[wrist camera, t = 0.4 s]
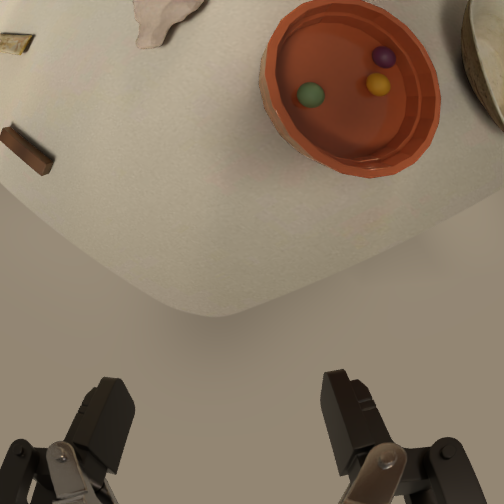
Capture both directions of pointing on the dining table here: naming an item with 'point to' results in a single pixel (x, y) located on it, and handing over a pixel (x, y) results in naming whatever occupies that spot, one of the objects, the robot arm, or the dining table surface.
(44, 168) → the brown wooden bar
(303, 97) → the bead
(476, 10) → the bowl
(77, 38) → the dining table surface
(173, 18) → the stone tool
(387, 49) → the bead
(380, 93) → the bead
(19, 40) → the snack bar
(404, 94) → the mixing bowl
